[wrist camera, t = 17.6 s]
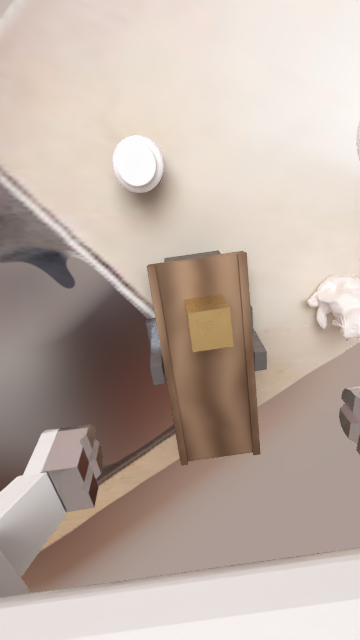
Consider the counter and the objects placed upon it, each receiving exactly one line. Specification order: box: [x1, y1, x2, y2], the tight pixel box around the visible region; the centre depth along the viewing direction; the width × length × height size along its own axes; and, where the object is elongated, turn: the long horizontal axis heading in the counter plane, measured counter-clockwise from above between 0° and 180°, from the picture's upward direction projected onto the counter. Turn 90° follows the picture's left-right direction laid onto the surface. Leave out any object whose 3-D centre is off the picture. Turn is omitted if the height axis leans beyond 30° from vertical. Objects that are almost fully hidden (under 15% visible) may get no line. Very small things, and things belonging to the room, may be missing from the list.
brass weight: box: [185, 294, 233, 352], centre depth 36 cm, size 5×5×6 cm
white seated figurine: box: [307, 273, 360, 341], centre depth 44 cm, size 6×8×12 cm
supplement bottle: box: [112, 135, 164, 193], centre depth 35 cm, size 6×6×10 cm
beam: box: [147, 251, 260, 465], centre depth 43 cm, size 12×30×3 cm, turn 7°
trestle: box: [146, 251, 266, 385], centre depth 45 cm, size 17×18×10 cm
